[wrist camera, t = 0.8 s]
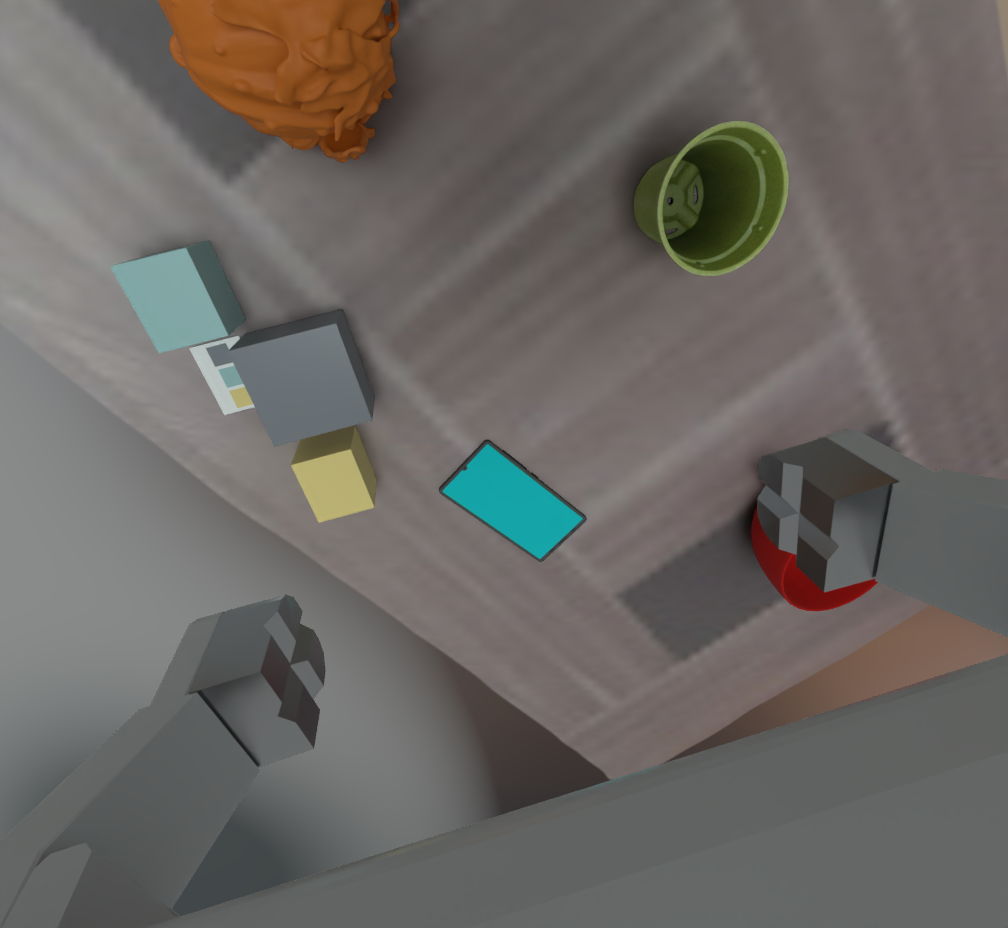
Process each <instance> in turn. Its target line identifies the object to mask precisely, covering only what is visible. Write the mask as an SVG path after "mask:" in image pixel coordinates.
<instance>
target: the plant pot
mask: <svg viewBox="0 0 1008 928" xmlns="http://www.w3.org/2000/svg"><path fill="white" fill-rule="evenodd" d="M675 168H676V169H675ZM788 184H789V181H788V170H787V164H786V159H785V156H784V153H783V151H782V149H781V148H780V146H779V144H778V143H777V141H776V140H775V138H774V137H773V136H772V135H771V134H770V133H769V132H768V131H766V130H765V129H764V128H762V127H761V126H759V125H756V124H754V123H750V122H746V121H730V122H725V123H721V124H718V125H715V126H713V127H711V128H708V129H707V130H705V131H703V132H701V133H700V134H698V135H697V136H695V137H694V138H693V139H692V140H690V141H689V142H688V143H687V144H686V145H685V146H684V147H683V148H682V149H681V150H680V151H679V153H677V154H674V155H672V156H670V157H667V158H665V159H663V160H661V161H659V162H657V163H656V164H654V165H653V166H651V167H650V168H649V169H648V171H647V172H646V173H645V175H644V176H643V178H642V179H641V181H640V183H639V184H638V186H637V188H636V191H635V195H634V203H633V209H634V216H635V219H636V222H637V225H638V226H639V228H640V229H641V230H642V231H643V232H644V233H645V234H646V235H647V236H648V237H649V238H651V239H653V240H654V241H656V242H658V243H660V244H661V245H663V247H664V249H665V250H666V252H667V254H668V255H669V256H670V258H671V259H672V260H673V261H674V262H675V263H676V264H677V265H678V266H680V267H681V268H683V269H684V270H686V271H688V272H690V273H693V274H697V275H702V276H716V275H722V274H725V273H728V272H731V271H734V270H736V269H738V268H740V267H741V266H743V265H744V264H746V263H747V262H749V261H750V260H751V259H752V258H754V257H755V256H756V255H757V254H758V253H759V252H760V251H761V250H762V249H763V248H764V247H765V245H766V244H767V243H768V241H769V240H770V239H771V237H772V236H773V234H774V232H775V230H776V228H777V226H778V224H779V222H780V220H781V217H782V215H783V212H784V209H785V206H786V201H787V195H788ZM694 186H697V191H698V201H697V203H696V204H694V188H693V187H694ZM670 197H671V198H673V203H672V204H671V205H669V204H668V199H669V198H670ZM675 228H678V229H677V230H676V231H675V232H673V233H671V234H667V235H665V231H664V230H670V229H675Z"/></svg>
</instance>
